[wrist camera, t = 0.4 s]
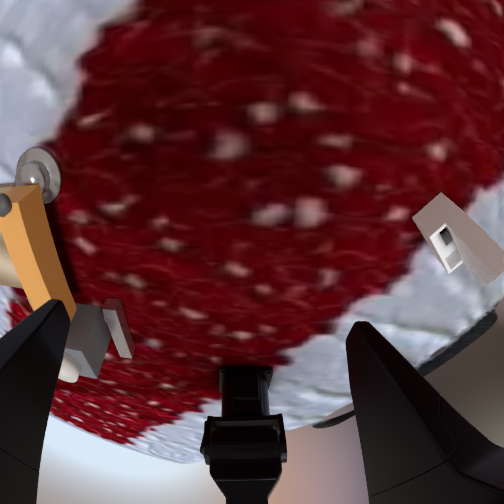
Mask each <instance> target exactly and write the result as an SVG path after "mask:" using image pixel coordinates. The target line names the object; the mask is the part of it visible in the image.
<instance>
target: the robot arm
mask: <svg viewBox="0 0 504 504" xmlns="http://www.w3.org/2000/svg"><path fill="white" fill-rule="evenodd" d="M69 328H70V317H69V315H68V312H67V310H66V307H65V305H64V303H63V301H62V300H58V299H50V300H48V301H47V302H46V303H44V304H43V305H42V306H40V307H39V308H38V309H36V310H35V311H34V312H33V313H31V314H30V315H29V316H27V317H26V318H25V319H24V320H22V321H21V322H20V323H19V324H17V325H16V326H15V327H14V328H12V329H11V330H10V331H9V332H7V333H6V334H5V335H4V336H3V337H1V338H0V504H36V501H37V488H38V478H39V468H40V461H41V454H42V448H43V442H44V436H45V431H46V426H47V421H48V417H49V412H50V408H51V404H52V399H53V395H54V391H55V388H56V384H57V380H58V377H59V373H60V369H61V366H62V361H63V356H64V351H65V346H66V341H67V337H68V332H69ZM346 353H347V362H348V372H349V382H350V390H351V395H352V400H353V405H354V410H355V415H356V421H357V426H358V432H359V437H360V443H361V449H362V455H363V461H364V468H365V475H366V481H367V489H368V496H369V504H504V448H503V447H500V446H498V445H496V444H494V443H492V442H491V441H490V440H488V439H487V438H486V437H485V436H484V435H483V434H482V433H481V432H479V431H478V430H477V429H476V428H475V427H474V426H473V425H471V424H470V423H469V422H468V421H467V420H466V419H465V418H464V417H462V416H461V415H460V414H459V413H458V412H457V411H456V410H455V409H454V408H453V407H452V406H451V405H450V404H449V403H448V402H447V401H446V400H445V399H444V398H443V397H442V396H440V393H439V392H437V390H436V389H435V388H434V387H433V386H432V385H431V384H430V383H429V382H428V381H427V380H426V379H425V378H424V377H423V376H422V375H421V374H420V373H419V372H418V371H417V370H416V369H415V368H414V367H413V366H412V365H411V364H410V363H409V362H408V361H407V360H406V359H405V358H404V357H403V355H402V354H401V353H400V352H399V351H398V350H397V349H396V348H395V347H394V346H393V345H392V344H391V343H390V342H389V341H387V340H386V339H385V338H384V337H383V336H382V335H381V334H380V333H379V332H378V331H377V330H376V329H375V328H374V327H373V326H372V325H371V324H370V323H369V322H367V321H357V322H355V323H354V325H353V326H352V328H351V330H350V332H349V334H348V336H347V339H346ZM272 375H273V369H272V368H244V367H220V368H219V393H221V394H222V417H213V416H208V418H207V421H205V424H204V435H203V439H202V443H201V447H200V453H202V454H203V455H204V459H205V462H206V464H207V465H210V474H211V477H212V478H213V480H214V481H215V482H216V484H217V486H218V487H219V489H220V490H221V491H222V493H223V494H224V496H225V497H226V504H268V498H269V497H270V495H271V493H272V491H273V490H274V488H275V487H276V485H277V483H278V482H279V479H280V476H281V473H282V464H281V463H286V462H287V447H286V437H285V430H284V423H283V416H282V413H281V414H277V415H270V412H269V399H268V389H269V385H270V382H271V378H272Z"/></svg>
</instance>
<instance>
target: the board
mask: <svg viewBox="0 0 504 504" xmlns="http://www.w3.org/2000/svg"><path fill="white" fill-rule="evenodd" d="M14 186H16V185H15V183H10V184H0V193H6V192H8V191H9V190H10V189H11V188H13V187H14ZM0 285H5V286H11V287H17V288H23V286H22V284H21V282H20V280H19V277H18V275H17V273H16V270H15V268H14V265H13V263H12V260H11V258H10V255H9V253H8V250H7V247H6V244H5V242H4V239H3V236H2V233H1V230H0Z"/></svg>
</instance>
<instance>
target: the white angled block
mask: <svg viewBox="0 0 504 504" xmlns="http://www.w3.org/2000/svg"><path fill="white" fill-rule="evenodd" d="M412 218H413V220H414V222H415V223H416V225H417V227H418V228H419V230H420V231H421V233H422V235H423V236H424V238H425V240H426V242H427V243H428V245H429V247H430V249H431V250H432V252H433V254H434V255H435V257H436V258H437V259H438V260H439V262H440V263H441V264H442V266H443V267H444V268H445V270H446V271H447V272H448V274H449V273H451V272H452V271H453V270H454V269H455V268H457V267H458V266H459V265H460V264H461V263H462V262H463V263H464V264H465V265H466V266H467V268H468V269H469V270H470V271H471V273H472V274H473V275H474V277H475V278H476V279H477V280H478V282H479V283H480V284H481V286H482V287H484V286H486V285H487V284H489V283H490V282H491V281H493V280H494V279H496V278H497V277H498V276H499V275H500V274H501V273H502V272H503V271H504V251H503V250H502V249H501V248H500V247H499V245H498V244H497V243H496V242H495V241H494V240H493V239H492V238H491V237H490V236H489V235H488V234H487V233H486V232H485V231H484V230H483V229H482V228H481V227H480V226H478V225H477V224H476V223H475V222H474V221H473V220H472V219H471V218H470V217H469V216H468V215H467V214H466V213H464V212H463V211H462V210H461V209H460V208H459V207H458V206H457V205H455V204H454V203H453V202H452V201H451V200H450V199H449V198H447V197H446V196H445V195H444V194H443V193H440V194H439V195H437V196H436V197H435V198H434V199H433V200H432V201H431V202H429V203H428V204H427V205H426V206H425V207H424V208H423V209H421V210H420V211H419V212H418V213H417V214H416V215H414V216H413V217H412ZM445 227H446V230H445V231H444V232H443V233H442V234H440V233H439V232H440V231H442V230H443V229H444V228H445Z"/></svg>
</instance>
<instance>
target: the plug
mask: <svg viewBox="0 0 504 504" xmlns="http://www.w3.org/2000/svg"><path fill="white" fill-rule="evenodd" d="M75 305H76V307H77V310H76V312H75V314H74V316H73V318H72V320H71V322H70V328H69V332H68V337H67V341H66V346H65V351H64V356H63V361H62V366H61V369H60V373H59V377H58V378H59V379H61V380H64V381H67V382H76V381H77V378H78V375H81V376H86V377H90V378H95V379H98V375H99V372H100V369H101V366H102V362H103V359H104V356H105V353H106V350H107V347H108V344H109V341H110V338H111V335H110V333H109V330H108V328H107V325H106V322H105V320H104V317H103V314H102V311H101V308H100V306H92V305H84V304H77V303H75Z"/></svg>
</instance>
